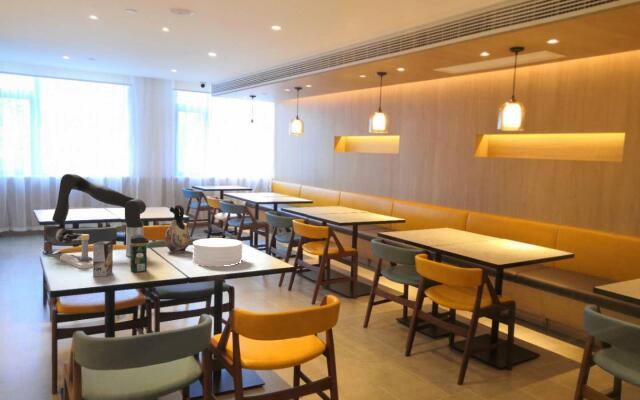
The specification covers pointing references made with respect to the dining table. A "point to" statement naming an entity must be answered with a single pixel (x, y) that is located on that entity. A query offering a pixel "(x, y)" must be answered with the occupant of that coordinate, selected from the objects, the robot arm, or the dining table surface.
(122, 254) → the dining table surface
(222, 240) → the plate stack
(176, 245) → the ceramic jug
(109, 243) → the coffee box
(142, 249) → the coffee jar
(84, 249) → the yellow capped tube
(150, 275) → the dining table surface
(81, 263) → the beige flat slab
